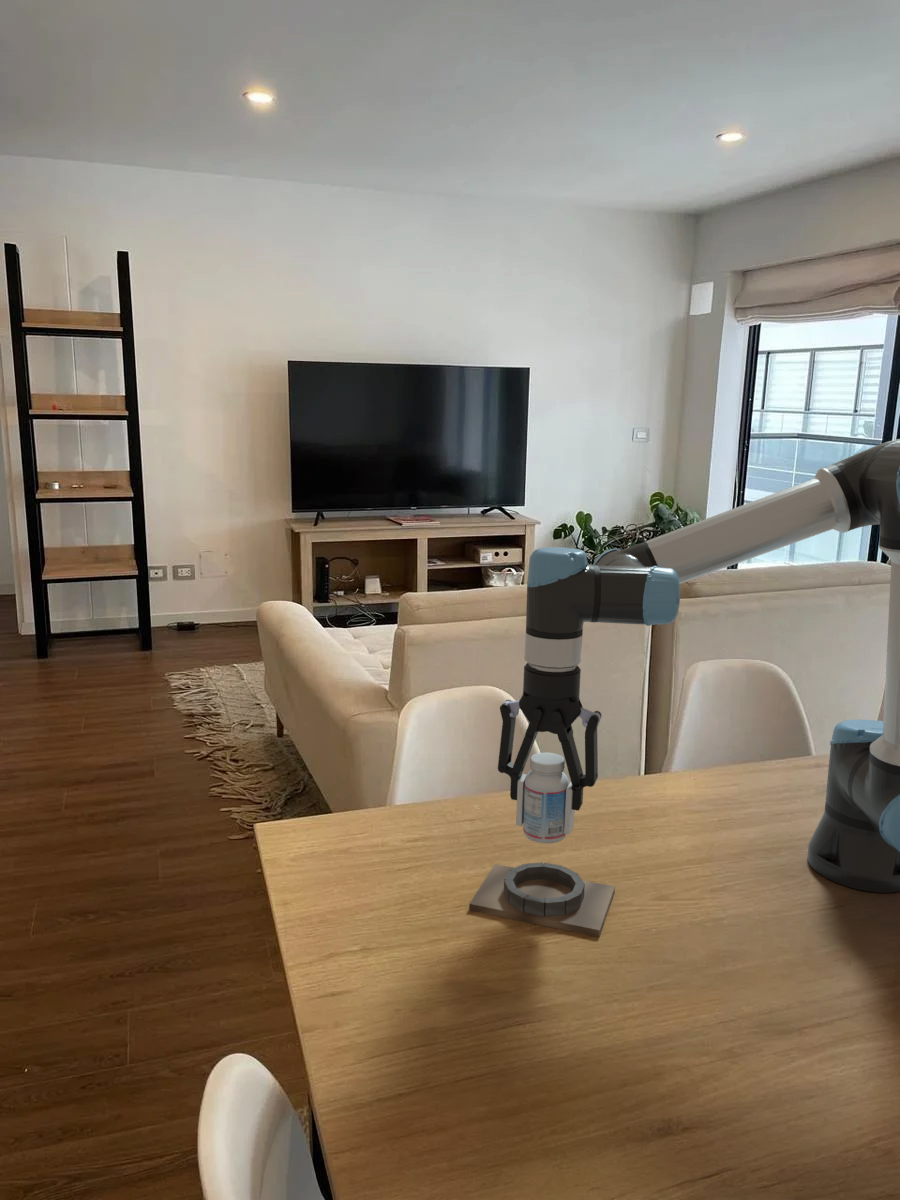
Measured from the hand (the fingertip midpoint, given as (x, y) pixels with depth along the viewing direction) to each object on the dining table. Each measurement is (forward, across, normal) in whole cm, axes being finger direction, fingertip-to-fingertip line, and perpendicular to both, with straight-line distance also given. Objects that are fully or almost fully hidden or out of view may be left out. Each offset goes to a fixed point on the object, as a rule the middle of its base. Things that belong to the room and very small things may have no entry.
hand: (544, 825), depth 122 cm
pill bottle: (+2, 0, 0) cm, 2 cm away
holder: (+11, 0, 0) cm, 12 cm away
